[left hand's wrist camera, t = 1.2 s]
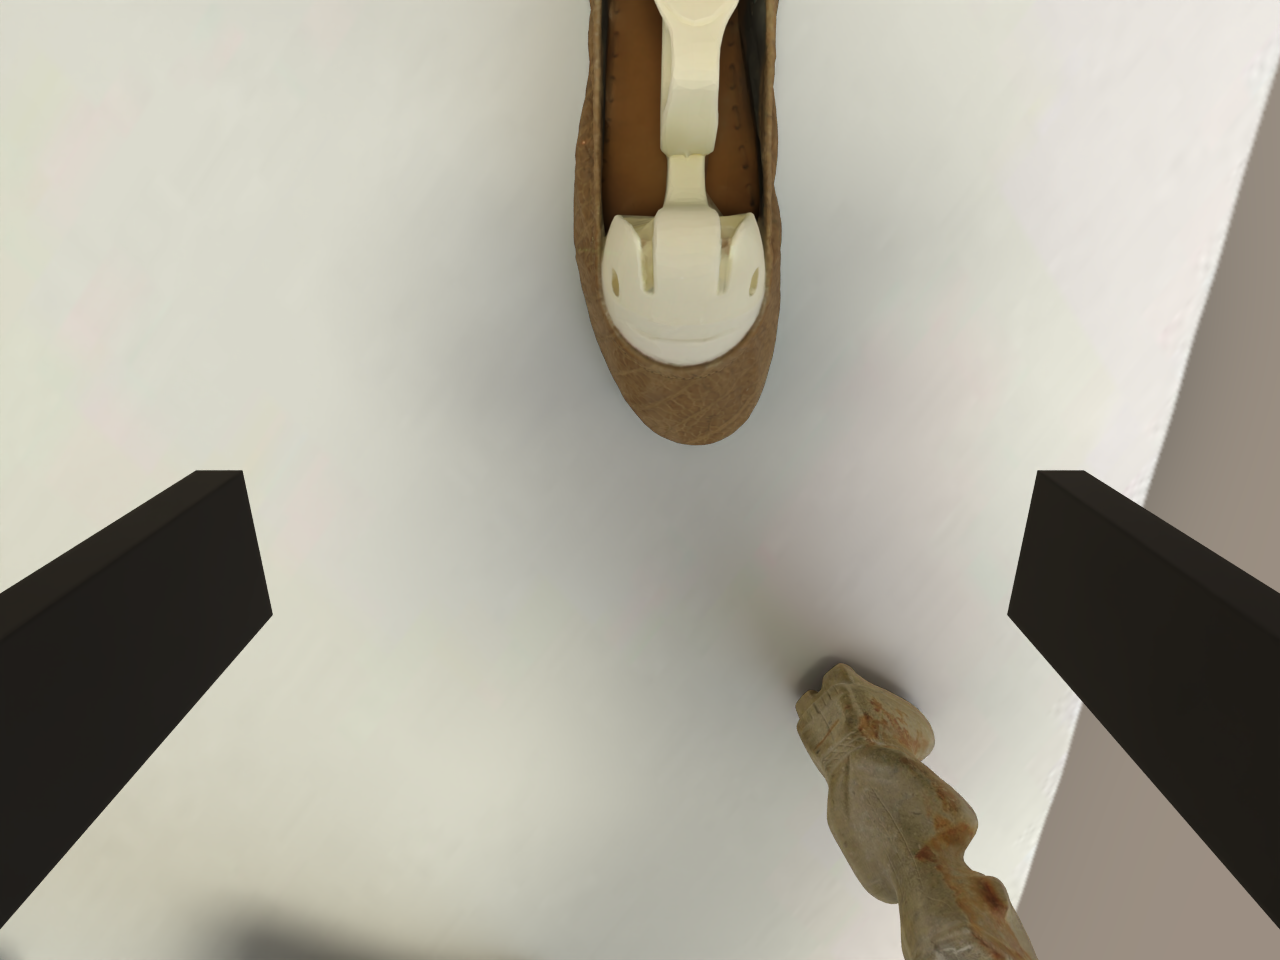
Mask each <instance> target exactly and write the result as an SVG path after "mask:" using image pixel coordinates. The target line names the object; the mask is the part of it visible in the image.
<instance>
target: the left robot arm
mask: <svg viewBox="0 0 1280 960" xmlns="http://www.w3.org/2000/svg"><path fill="white" fill-rule="evenodd" d="M272 615H273V613H272V608H271V604H270V599H269V594H268V589H267V585H266V580H265V575H264V570H263V566H262V561H261V556H260V551H259V547H258V542H257V537H256V532H255V528H254V523H253V518H252V513H251V509H250V504H249V499H248V494H247V490H246V485H245V480H244V475H243V471H242V470H196V471H194V472H193V473H191V474H190V475H188V476H186V477H185V478H183V479H182V480H180V481H179V482H177V483H175V484H174V485H172V486H171V487H169V488H167V489H166V490H164V491H163V492H161V493H159V494H158V495H156V496H155V497H153V498H151V499H150V500H148V501H147V502H145V503H144V504H142V505H140V506H139V507H137V508H136V509H134V510H132V511H131V512H129V513H128V514H126V515H124V516H123V517H121V518H120V519H118V520H116V521H115V522H113V523H112V524H110V525H108V526H107V527H105V528H104V529H102V530H101V531H99V532H97V533H96V534H94V535H93V536H91V537H89V538H88V539H86V540H85V541H83V542H81V543H80V544H78V545H77V546H75V547H73V548H72V549H70V550H69V551H67V552H66V553H64V554H62V555H61V556H59V557H58V558H56V559H54V560H53V561H51V562H50V563H48V564H46V565H45V566H43V567H42V568H40V569H38V570H37V571H35V572H34V573H32V574H31V575H29V576H27V577H26V578H24V579H23V580H21V581H19V582H18V583H16V584H15V585H13V586H11V587H10V588H8V589H7V590H5V591H3V592H2V593H0V929H1V928H2V927H3V925H4V924H5V923H6V922H7V921H8V920H9V918H10V917H11V916H12V915H13V914H14V913H15V912H16V910H17V909H18V908H19V907H20V906H21V905H22V903H23V902H24V901H25V900H26V899H27V898H28V897H29V895H30V894H31V893H32V892H33V891H34V890H35V888H36V887H37V886H38V885H39V884H40V883H41V882H42V880H43V879H44V878H45V877H46V876H47V875H48V873H49V872H50V871H51V870H52V869H53V868H54V867H55V865H56V864H57V863H58V862H59V861H60V860H61V859H62V857H63V856H64V855H65V854H66V853H67V852H68V850H69V849H70V848H71V847H72V846H73V845H74V844H75V842H76V841H77V840H78V839H79V838H80V837H81V835H82V834H83V833H84V832H85V831H86V830H87V829H88V827H89V826H90V825H91V824H92V823H93V822H94V820H95V819H96V818H97V817H98V816H99V815H100V814H101V812H102V811H103V810H104V809H105V808H106V807H107V805H108V804H109V803H110V802H111V801H112V800H113V799H114V797H115V796H116V795H117V794H118V793H119V792H120V790H121V789H122V788H123V787H124V786H125V785H126V784H127V782H128V781H129V780H130V779H131V778H132V777H133V775H134V774H135V773H136V772H137V771H138V770H139V769H140V767H141V766H142V765H143V764H144V763H145V762H146V760H147V759H148V758H149V757H150V756H151V755H152V754H153V752H154V751H155V750H156V749H157V748H158V747H159V745H160V744H161V743H162V742H163V741H164V740H165V739H166V737H167V736H168V735H169V734H170V733H171V732H172V731H173V729H174V728H175V727H176V726H177V725H178V724H179V722H180V721H181V720H182V719H183V718H184V717H185V716H186V714H187V713H188V712H189V711H190V710H191V709H192V707H193V706H194V705H195V704H196V703H197V702H198V701H199V699H200V698H201V697H202V696H203V695H204V694H205V692H206V691H207V690H208V689H209V688H210V687H211V686H212V684H213V683H214V682H215V681H216V680H217V679H218V677H219V676H220V675H221V674H222V673H223V672H224V671H225V669H226V668H227V667H228V666H229V665H230V664H231V662H232V661H233V660H234V659H235V658H236V657H237V656H238V654H239V653H240V652H241V651H242V650H243V649H244V647H245V646H246V645H247V644H248V643H249V642H250V641H251V639H252V638H253V637H254V636H255V635H256V634H257V632H258V631H259V630H260V629H261V628H262V627H263V626H264V624H265V623H266V622H267V621H268V620H269V619H270V618H271V616H272ZM1007 615H1008V616H1009V618H1010V619H1011V620H1012V621H1013V622H1014V623H1015V624H1016V626H1017V627H1018V628H1019V629H1020V630H1021V631H1022V632H1023V634H1024V635H1025V636H1026V637H1027V638H1028V639H1029V641H1030V642H1031V643H1032V644H1033V645H1034V646H1035V647H1036V649H1037V650H1038V651H1039V652H1040V653H1041V654H1042V656H1043V657H1044V658H1045V659H1046V660H1047V661H1048V662H1049V664H1050V665H1051V666H1052V667H1053V668H1054V669H1055V671H1056V672H1057V673H1058V674H1059V675H1060V676H1061V677H1062V679H1063V680H1064V681H1065V682H1066V683H1067V684H1068V686H1069V687H1070V688H1071V689H1072V690H1073V691H1074V692H1075V694H1076V695H1077V696H1078V697H1079V698H1080V699H1081V701H1082V702H1083V703H1084V704H1085V705H1086V706H1087V707H1088V709H1089V710H1090V711H1091V712H1092V713H1093V714H1094V715H1095V717H1096V718H1097V719H1098V720H1099V721H1100V722H1101V724H1102V725H1103V726H1104V727H1105V728H1106V729H1107V731H1108V732H1109V733H1110V734H1111V735H1112V736H1113V737H1114V739H1115V740H1116V741H1117V742H1118V743H1119V744H1120V745H1121V747H1122V748H1123V749H1124V750H1125V751H1126V752H1127V754H1128V755H1129V756H1130V757H1131V758H1132V759H1133V760H1134V762H1135V763H1136V764H1137V765H1138V766H1139V767H1140V769H1141V770H1142V771H1143V772H1144V773H1145V774H1146V775H1147V777H1148V778H1149V779H1150V780H1151V781H1152V782H1153V784H1154V785H1155V786H1156V787H1157V788H1158V789H1159V790H1160V792H1161V793H1162V794H1163V795H1164V796H1165V797H1166V798H1167V800H1168V801H1169V802H1170V803H1171V804H1172V805H1173V807H1174V808H1175V809H1176V810H1177V811H1178V812H1179V814H1180V815H1181V816H1182V817H1183V818H1184V819H1185V820H1186V821H1187V823H1188V824H1189V825H1190V826H1191V827H1192V828H1193V830H1194V831H1195V832H1196V833H1197V834H1198V835H1199V837H1200V838H1201V839H1202V840H1203V841H1204V842H1205V844H1206V845H1207V846H1208V847H1209V848H1210V849H1211V850H1212V852H1213V853H1214V854H1215V855H1216V856H1217V857H1218V858H1219V860H1220V861H1221V862H1222V863H1223V864H1224V865H1225V866H1226V868H1227V869H1228V870H1229V871H1230V872H1231V873H1232V875H1233V876H1234V877H1235V878H1236V879H1237V880H1238V882H1239V883H1240V884H1241V885H1242V886H1243V887H1244V888H1245V890H1246V891H1247V892H1248V893H1249V894H1250V895H1251V897H1252V898H1253V899H1254V900H1255V901H1256V902H1257V903H1258V905H1259V906H1260V907H1261V908H1262V909H1263V910H1264V912H1265V913H1266V914H1267V915H1268V916H1269V917H1270V918H1271V920H1272V921H1273V922H1274V923H1275V924H1276V925H1277V927H1278V928H1279V929H1280V593H1278V592H1277V591H1275V590H1273V589H1272V588H1270V587H1269V586H1267V585H1265V584H1264V583H1262V582H1260V581H1259V580H1257V579H1256V578H1254V577H1253V576H1251V575H1249V574H1248V573H1246V572H1245V571H1243V570H1241V569H1240V568H1238V567H1237V566H1235V565H1234V564H1232V563H1230V562H1229V561H1227V560H1226V559H1224V558H1222V557H1221V556H1219V555H1218V554H1216V553H1214V552H1213V551H1211V550H1210V549H1208V548H1207V547H1205V546H1203V545H1202V544H1200V543H1199V542H1197V541H1195V540H1194V539H1192V538H1191V537H1189V536H1187V535H1186V534H1184V533H1183V532H1181V531H1179V530H1178V529H1176V528H1175V527H1173V526H1171V525H1170V524H1168V523H1167V522H1165V521H1164V520H1162V519H1160V518H1159V517H1157V516H1156V515H1154V514H1152V513H1151V512H1149V511H1148V510H1146V509H1144V508H1143V507H1141V506H1140V505H1138V504H1137V503H1135V502H1133V501H1132V500H1130V499H1129V498H1127V497H1125V496H1124V495H1122V494H1121V493H1119V492H1117V491H1116V490H1114V489H1113V488H1111V487H1109V486H1108V485H1106V484H1105V483H1103V482H1101V481H1100V480H1098V479H1097V478H1095V477H1094V476H1092V475H1090V474H1089V473H1087V472H1086V471H1084V470H1038V471H1037V475H1036V480H1035V485H1034V490H1033V494H1032V499H1031V504H1030V509H1029V513H1028V518H1027V523H1026V528H1025V532H1024V537H1023V542H1022V547H1021V551H1020V556H1019V561H1018V566H1017V570H1016V575H1015V580H1014V585H1013V589H1012V594H1011V599H1010V604H1009V609H1008V613H1007Z"/></svg>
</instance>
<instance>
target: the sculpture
mask: <svg viewBox="0 0 1280 960" xmlns="http://www.w3.org/2000/svg"><path fill="white" fill-rule="evenodd" d="M796 711H797V713H798V716H799V718H800V720H799V721H798V724H797V731H798V734H799V736H800V738H801V740H802V742H803V744H804V746H805V748H806V750H807V752H808V753H809V755H810V757H811V759H812V760H813V762H814V764H815V765H816V767H817V768H818V770H819V771H820V772H821V774H822V775H823V776H824V778H825V779H826V781H827V783H828V786H829V791H828V803H827V821H828V825H829V828H830V830H831V832H832V834H833V836H834V838H835V840H836V842H837V843H838V845H839V847H840V849H841V851H842V852H843V854H844V856H845V858H846V859H847V861H848V863H849V865H850V866H851V868H852V870H853V872H854V873H855V875H856V877H857V878H858V880H859V881H860V883H861V884H862V886H863V887H864V888H865V889H866V891H867V892H868V893H870V894H871V895H872V896H874V897H875V898H877V899H878V900H880V901H883V902H885V903H889V904H897V903H898V904H899V912H900V923H901V944H902V952H903V955H904V959H905V960H1038V958H1037V956H1036V954H1035V951H1034V949H1033V947H1032V944H1031V942H1030V939H1029V937H1028V935H1027V933H1026V931H1025V929H1024V927H1023V925H1022V923H1021V921H1020V919H1019V917H1018V915H1017V913H1016V911H1015V910H1014V908H1013V906H1012V904H1011V902H1010V899H1009V896H1008V893H1007V890H1006V888H1005V886H1004V885H1003V883H1002V882H1001V881H1000V880H999V879H997V878H995V877H992V876H985V875H984V874H982V873H979V872H976V871H972V870H971V869H970V868H969V867H968V866H967V865H966V863H965V862H964V859H963V856H964V852H965V850H966V848H967V847H968V845H969V843H970V842H971V840H972V839H973V837H974V835H975V834H976V831H977V828H978V820H977V817H976V814H975V812H974V810H973V809H972V807H971V806H970V805H969V804H968V803H967V802H966V801H965V799H964V798H963V797H961V796H960V795H959V794H958V793H957V792H956V791H955V790H954V789H953V788H952V787H951V786H950V785H948V784H947V783H946V782H944V781H943V780H942V779H941V778H939V777H938V776H937V775H936V774H935V773H934V772H933V771H932V770H930V769H929V768H928V767H927V766H925V765H924V764H923V763H922V762H920V761H922V760H923V759H924V758H926V757H927V756H928V755H929V754H930V753H931V751H932V750H933V747H934V743H935V739H934V733H933V730H932V728H931V725H930V723H929V722H928V720H927V719H926V718H925V716H924V715H923V714H922V713H921V712H920V711H919V710H918V709H917V708H916V707H915V706H913V705H912V704H911V703H909V702H908V701H906V700H904V699H902V698H901V697H899V696H897V695H895V694H893V693H891V692H889V691H887V690H885V689H883V688H881V687H878V686H876V685H874V684H872V683H870V682H868V681H866V680H865V679H863V678H862V677H861V676H859V675H858V674H857V673H855V671H854V669H852V668H851V667H850V666H848V665H846V664H843V663H838V664H837V665H836V666H834V667H833V668H832V669H831V670H829V671H828V672H827V673H826V674H825V675H824V676H823V684H822V688H821V690H820V691H819V692H817V691H816V690H808V691H807V692H806V693H805V694H804V695H803V696H802V697H801V698H800V699H799V701H798V702H797V703H796Z"/></svg>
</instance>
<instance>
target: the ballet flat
mask: <svg viewBox="0 0 1280 960" xmlns="http://www.w3.org/2000/svg"><path fill="white" fill-rule="evenodd" d="M778 2H779V0H590V7H591V13H590V21H589V31H588V49H589V60H590V65H589V76H588V81H587V87H586V97H585V101H584V105H583V109H582V114H581V119H580V124H579V134H578V139H577V145H576V153H575V159H576V166H575V184H574V244H575V248H576V261H577V265H578V269H579V274H580V280H581V285H582V290H583V293H584V296H585V300H586V304H587V308H588V312H589V317H590V321H591V324H592V327H593V331H594V333H595V336H596V339H597V342H598V344H599V346H600V349H601V352H602V354H603V356H604V358H605V361H606V363H607V366H608V368H609V370H610V372H611V374H612V376H613V378H614V380H615V382H616V384H617V385H618V387H619V389H620V391H621V393H622V395H623V397H624V399H625V400H626V402H627V403H628V404H629V405H630V407H631V408H632V409H633V411H634V412H635V413H636V414H637V415H638V417H639V418H640V419H641V420H642V421H643V423H644V424H645V425H647V426H648V427H649V428H650V429H651V430H652V431H654V432H655V433H657V434H658V435H660V436H662V437H664V438H666V439H669V440H671V441H674V442H676V443H681V444H687V445H706V444H711V443H714V442H717V441H720V440H722V439H724V438H726V437H728V436H729V435H731V434H732V433H734V432H735V431H736V430H737V429H738V428H739V427H740V426H742V425H743V424H744V423H745V421H746V420H747V419H748V418H749V416H750V414H751V412H752V411H753V409H754V407H755V406H756V404H757V402H758V400H759V397H760V395H761V393H762V390H763V387H764V384H765V381H766V378H767V374H768V370H769V367H770V363H771V360H772V356H773V351H774V346H775V341H776V333H777V325H778V317H779V310H780V261H781V253H780V247H781V232H782V229H781V218H780V211H779V206H778V201H777V197H776V194H775V188H774V179H775V174H776V165H777V153H778V130H777V117H776V106H775V97H774V90H773V83H774V75H775V59H776V47H775V43H776V14H777V8H778Z"/></svg>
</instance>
